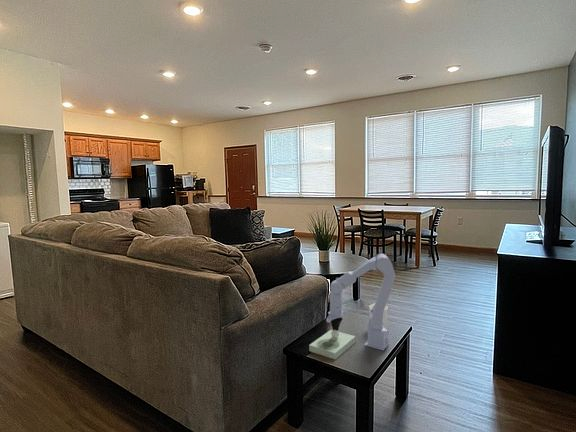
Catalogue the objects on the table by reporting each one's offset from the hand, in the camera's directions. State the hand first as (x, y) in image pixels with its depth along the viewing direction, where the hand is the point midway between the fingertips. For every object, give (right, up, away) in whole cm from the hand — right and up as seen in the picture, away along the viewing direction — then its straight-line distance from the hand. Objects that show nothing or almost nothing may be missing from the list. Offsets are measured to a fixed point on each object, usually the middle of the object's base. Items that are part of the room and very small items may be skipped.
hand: (335, 331), depth 167 cm
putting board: (-2, -6, -3) cm, 7 cm away
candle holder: (+25, -3, +15) cm, 30 cm away
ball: (0, -1, -1) cm, 1 cm away
